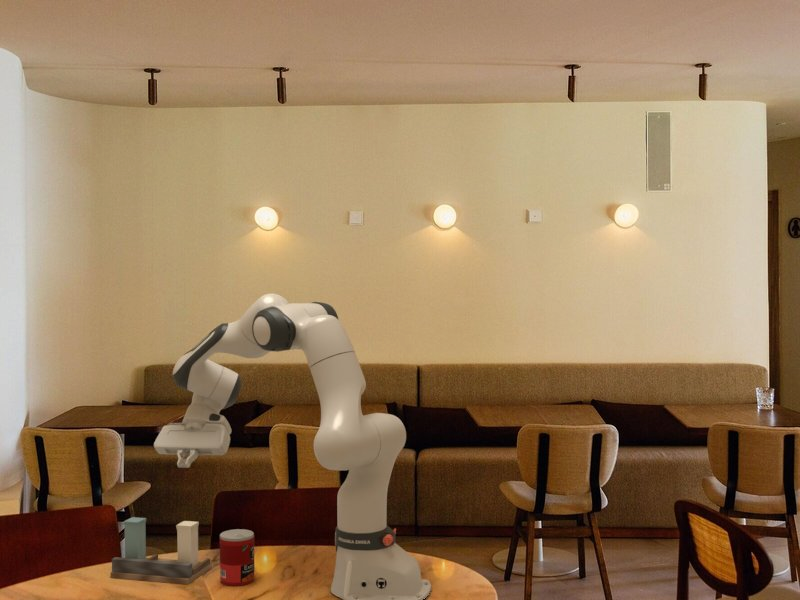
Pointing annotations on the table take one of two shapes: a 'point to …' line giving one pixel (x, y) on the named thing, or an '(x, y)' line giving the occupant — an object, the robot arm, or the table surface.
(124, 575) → the board
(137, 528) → the light blue tall block
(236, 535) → the canned food
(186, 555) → the cream tall block
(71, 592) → the table surface
